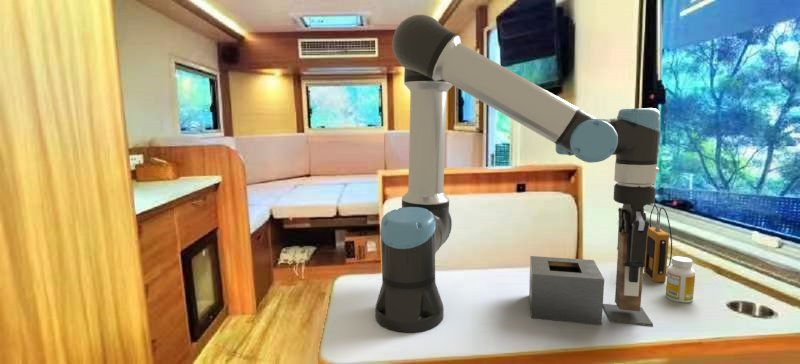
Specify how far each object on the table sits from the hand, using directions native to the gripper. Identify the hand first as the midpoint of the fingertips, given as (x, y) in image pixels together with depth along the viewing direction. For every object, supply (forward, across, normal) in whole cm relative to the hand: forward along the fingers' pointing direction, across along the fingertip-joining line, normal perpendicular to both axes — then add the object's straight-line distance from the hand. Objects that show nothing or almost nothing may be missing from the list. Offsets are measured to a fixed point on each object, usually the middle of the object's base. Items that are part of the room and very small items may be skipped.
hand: (627, 290), depth 88 cm
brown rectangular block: (+4, 0, 0) cm, 4 cm away
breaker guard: (+6, 0, +13) cm, 14 cm away
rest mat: (+6, 0, 0) cm, 6 cm away
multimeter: (+6, +25, -16) cm, 30 cm away
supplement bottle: (+6, +12, -14) cm, 19 cm away
